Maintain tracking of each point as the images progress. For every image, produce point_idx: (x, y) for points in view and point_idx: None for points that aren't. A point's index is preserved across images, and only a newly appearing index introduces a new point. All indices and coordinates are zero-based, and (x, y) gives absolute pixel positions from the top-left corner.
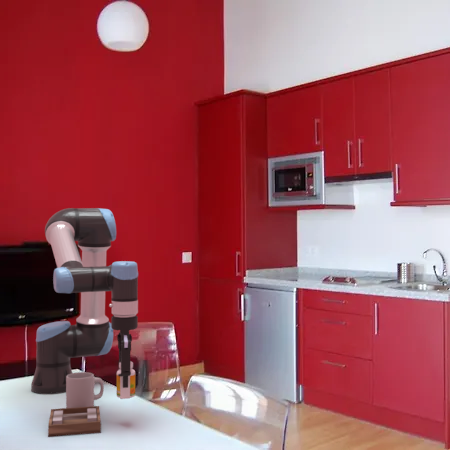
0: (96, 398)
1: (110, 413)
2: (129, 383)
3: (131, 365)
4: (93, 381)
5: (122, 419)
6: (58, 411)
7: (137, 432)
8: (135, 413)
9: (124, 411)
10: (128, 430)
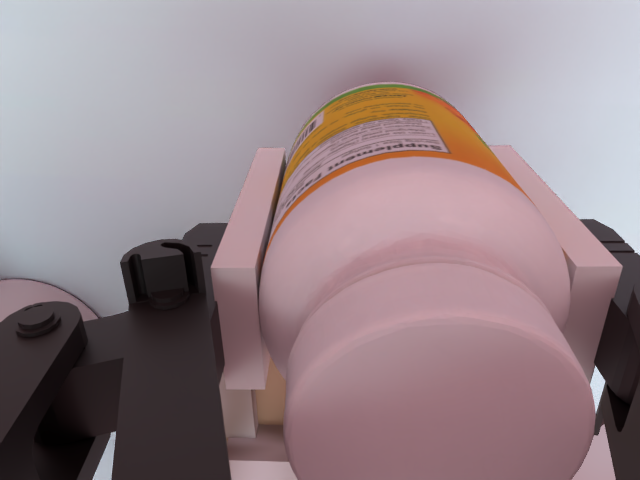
0: None
1: (106, 188)
2: (567, 216)
3: (553, 323)
4: None
5: (250, 120)
6: (243, 476)
7: (573, 35)
8: (116, 15)
9: (62, 95)
10: (504, 95)
